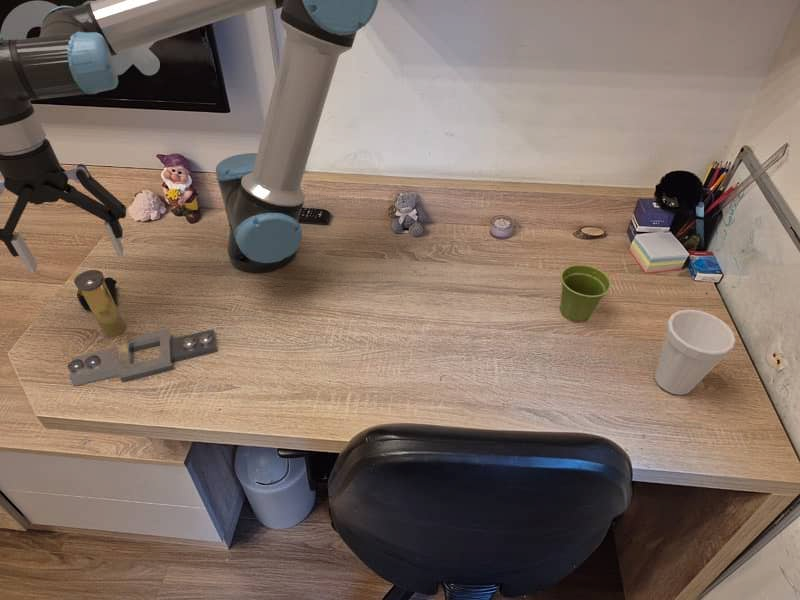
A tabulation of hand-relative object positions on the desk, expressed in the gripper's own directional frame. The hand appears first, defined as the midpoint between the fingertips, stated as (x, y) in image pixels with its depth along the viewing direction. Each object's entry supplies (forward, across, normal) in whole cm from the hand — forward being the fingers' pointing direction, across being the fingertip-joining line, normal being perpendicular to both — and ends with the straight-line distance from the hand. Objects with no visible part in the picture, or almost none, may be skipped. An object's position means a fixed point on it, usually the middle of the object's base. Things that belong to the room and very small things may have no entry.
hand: (78, 260), depth 90 cm
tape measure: (+17, +2, -10) cm, 20 cm away
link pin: (+17, 0, 0) cm, 17 cm away
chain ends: (+17, -6, +10) cm, 21 cm away
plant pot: (+17, -87, +26) cm, 93 cm away
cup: (+17, -93, +47) cm, 106 cm away
